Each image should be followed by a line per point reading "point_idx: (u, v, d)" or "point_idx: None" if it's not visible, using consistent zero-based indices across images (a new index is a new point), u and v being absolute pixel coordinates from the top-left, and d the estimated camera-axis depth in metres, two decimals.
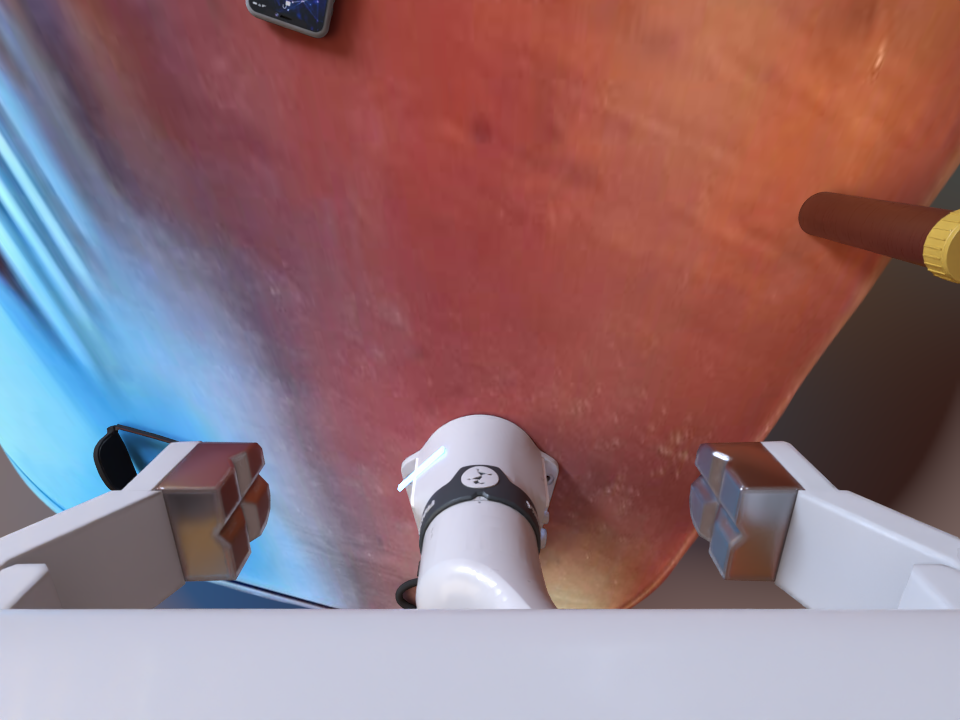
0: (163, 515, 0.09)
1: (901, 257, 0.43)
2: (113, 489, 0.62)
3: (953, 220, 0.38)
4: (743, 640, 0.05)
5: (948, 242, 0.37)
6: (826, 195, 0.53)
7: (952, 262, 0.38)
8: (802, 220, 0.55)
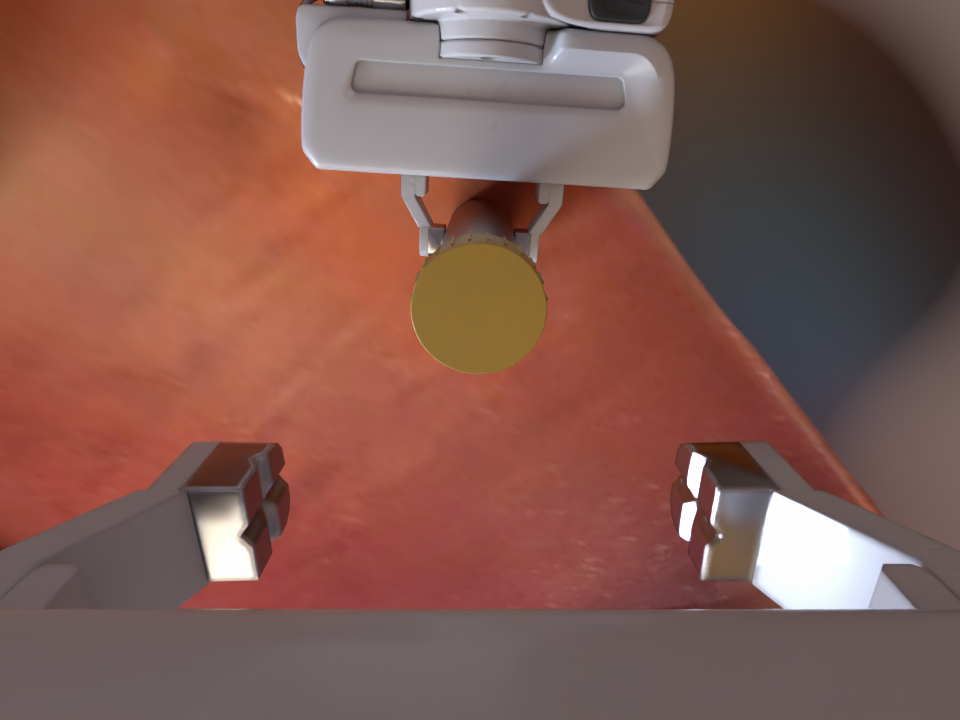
0: (187, 516, 0.09)
1: None
2: None
3: None
4: (743, 640, 0.05)
5: (441, 362, 0.21)
6: None
7: (479, 364, 0.21)
8: None
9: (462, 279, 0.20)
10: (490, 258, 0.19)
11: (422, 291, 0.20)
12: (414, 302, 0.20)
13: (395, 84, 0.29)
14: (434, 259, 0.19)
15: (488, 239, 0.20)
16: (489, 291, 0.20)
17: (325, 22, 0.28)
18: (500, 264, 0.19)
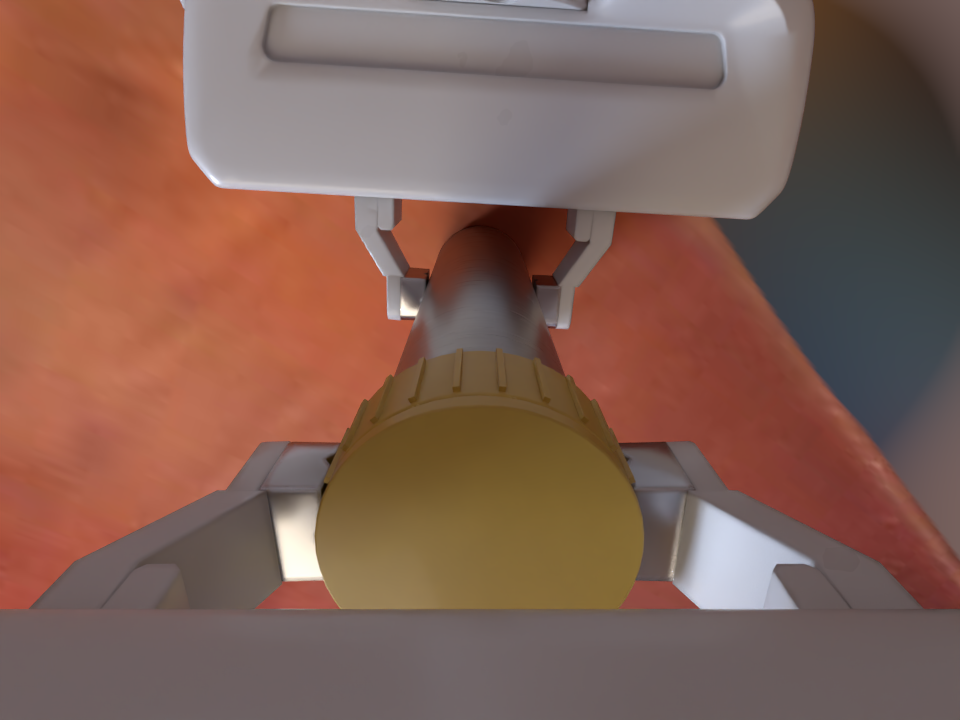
0: (264, 515, 0.09)
1: None
2: None
3: None
4: (743, 640, 0.05)
5: None
6: None
7: None
8: None
9: (438, 486, 0.08)
10: (508, 440, 0.08)
11: (340, 512, 0.08)
12: (322, 535, 0.08)
13: (338, 47, 0.17)
14: (366, 442, 0.08)
15: (503, 387, 0.08)
16: (505, 512, 0.08)
17: None
18: (533, 454, 0.08)
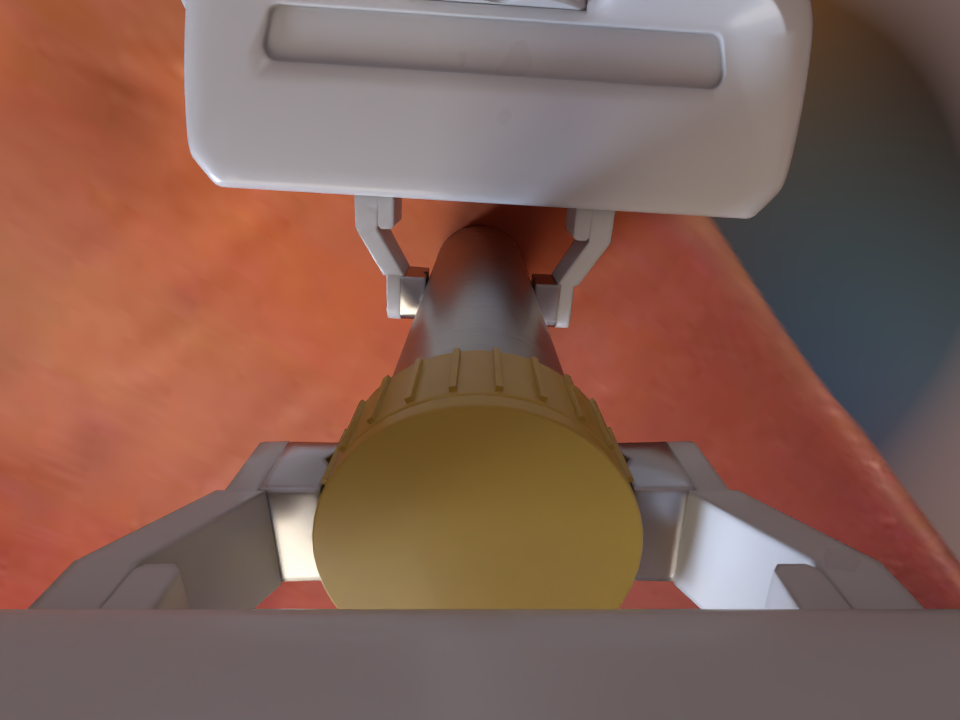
0: (263, 516, 0.09)
1: None
2: None
3: None
4: (743, 640, 0.05)
5: None
6: None
7: (609, 578, 0.08)
8: None
9: (392, 567, 0.08)
10: (354, 505, 0.08)
11: None
12: None
13: (338, 47, 0.17)
14: (337, 603, 0.09)
15: (323, 480, 0.08)
16: (433, 523, 0.08)
17: None
18: (373, 487, 0.08)
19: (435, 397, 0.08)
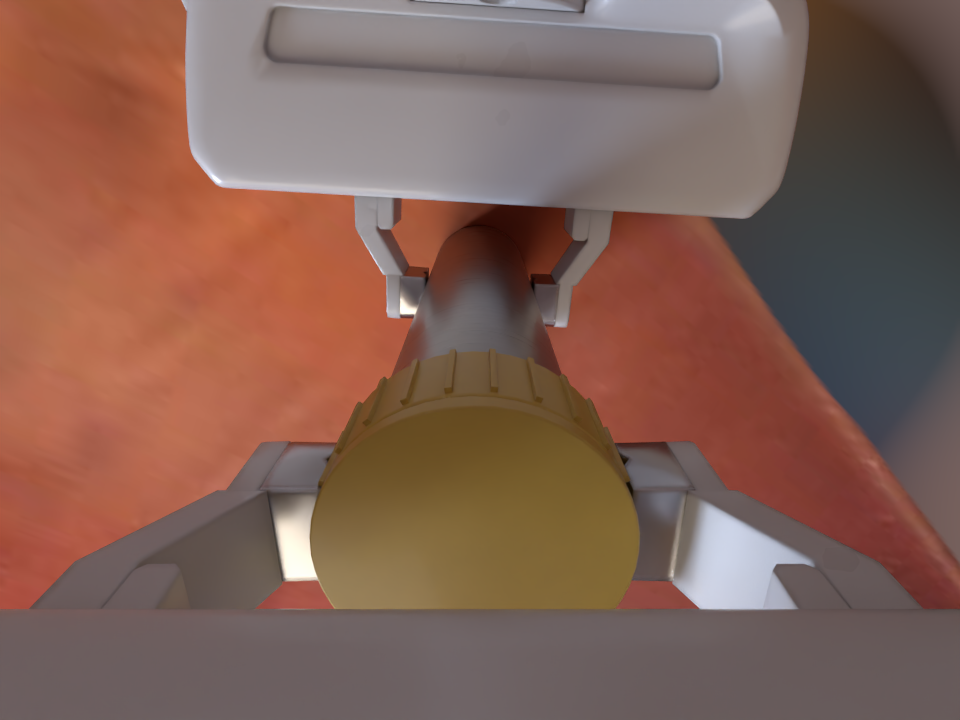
0: (265, 515, 0.09)
1: None
2: None
3: None
4: (742, 639, 0.05)
5: (627, 488, 0.08)
6: None
7: (544, 447, 0.08)
8: None
9: None
10: None
11: None
12: None
13: (338, 49, 0.17)
14: None
15: None
16: (430, 579, 0.08)
17: None
18: None
19: None
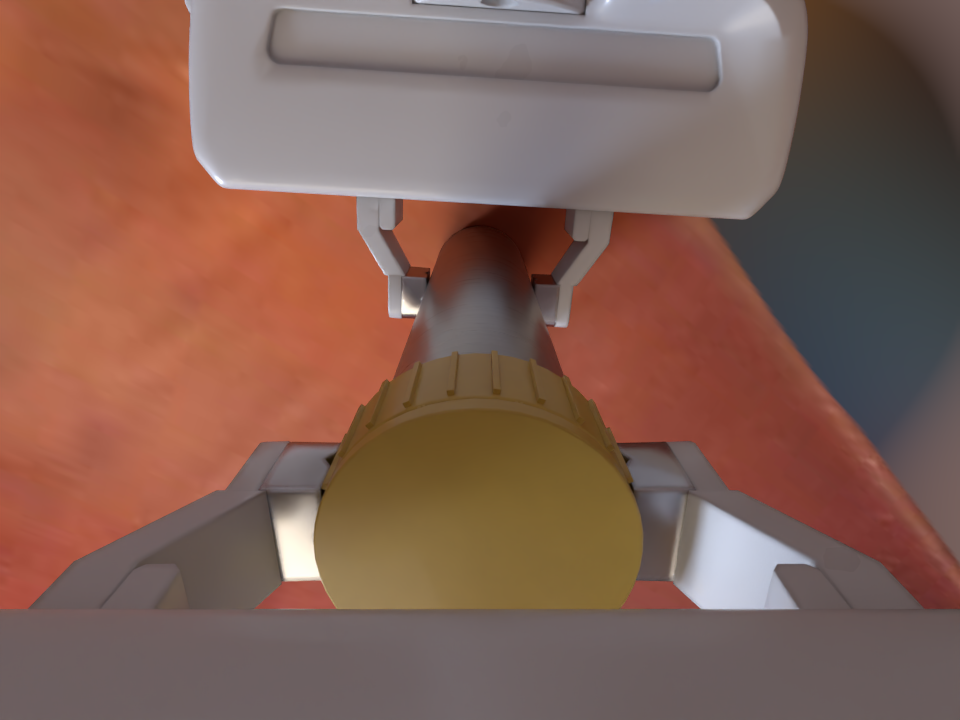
0: (263, 516, 0.09)
1: None
2: None
3: (539, 386, 0.08)
4: (743, 640, 0.05)
5: (440, 409, 0.07)
6: None
7: (369, 476, 0.08)
8: None
9: (560, 576, 0.08)
10: None
11: (613, 503, 0.08)
12: (609, 474, 0.08)
13: (340, 50, 0.17)
14: (638, 562, 0.08)
15: None
16: (497, 596, 0.09)
17: None
18: None
19: None
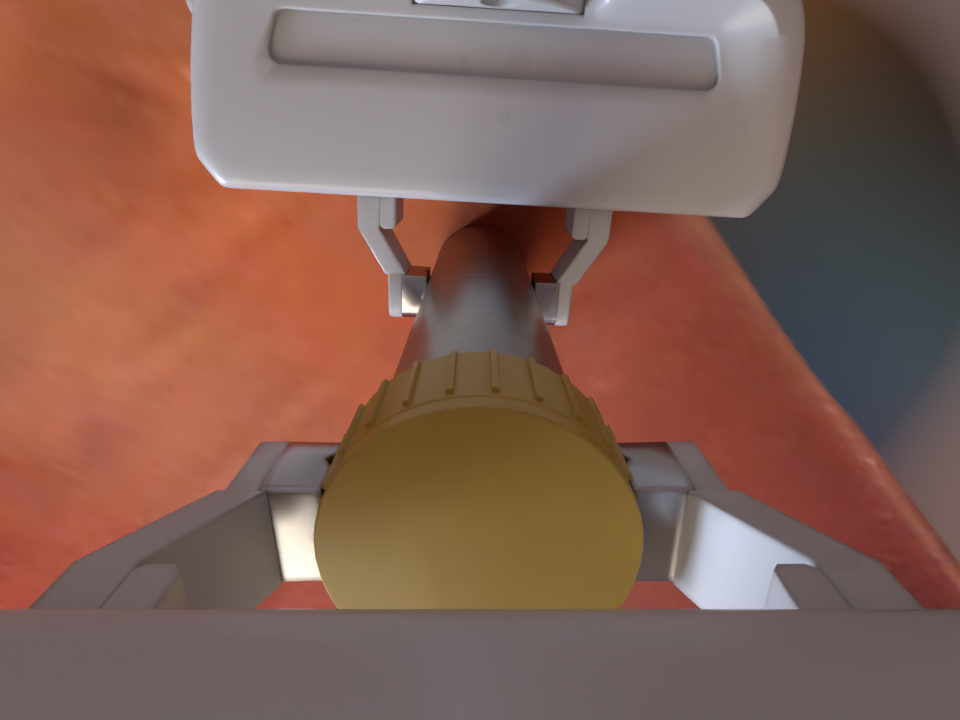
0: (264, 516, 0.09)
1: None
2: None
3: (353, 432, 0.09)
4: (744, 640, 0.05)
5: (315, 544, 0.08)
6: None
7: None
8: None
9: (527, 491, 0.08)
10: (605, 517, 0.08)
11: (446, 430, 0.07)
12: (409, 429, 0.07)
13: (341, 50, 0.17)
14: (535, 415, 0.07)
15: (630, 476, 0.08)
16: (534, 550, 0.08)
17: None
18: (603, 539, 0.08)
19: None
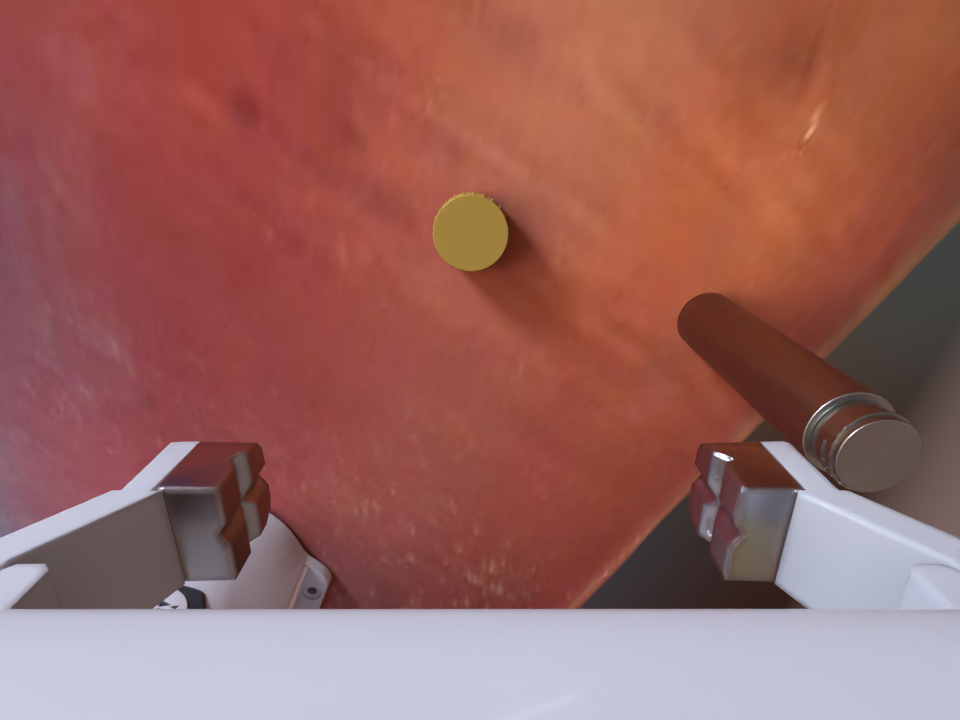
0: (163, 515, 0.09)
1: (775, 428, 0.28)
2: None
3: None
4: (743, 640, 0.05)
5: (460, 269, 0.37)
6: (714, 300, 0.38)
7: (480, 263, 0.37)
8: (680, 325, 0.40)
9: (456, 219, 0.36)
10: (467, 203, 0.35)
11: (437, 232, 0.36)
12: (435, 240, 0.36)
13: None
14: (438, 213, 0.36)
15: (463, 194, 0.36)
16: (472, 221, 0.36)
17: None
18: (473, 204, 0.36)
19: (496, 205, 0.36)
